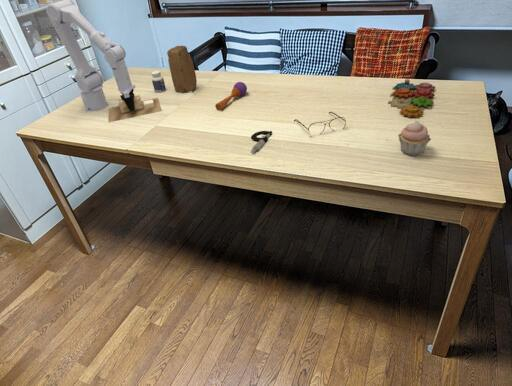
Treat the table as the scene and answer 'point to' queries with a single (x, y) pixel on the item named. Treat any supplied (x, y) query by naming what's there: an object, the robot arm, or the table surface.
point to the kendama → (233, 95)
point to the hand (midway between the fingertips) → (132, 107)
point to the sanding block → (137, 105)
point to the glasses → (323, 121)
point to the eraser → (149, 104)
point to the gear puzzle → (412, 98)
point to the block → (182, 69)
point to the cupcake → (414, 138)
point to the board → (117, 115)
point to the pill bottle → (158, 82)
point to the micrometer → (259, 140)
